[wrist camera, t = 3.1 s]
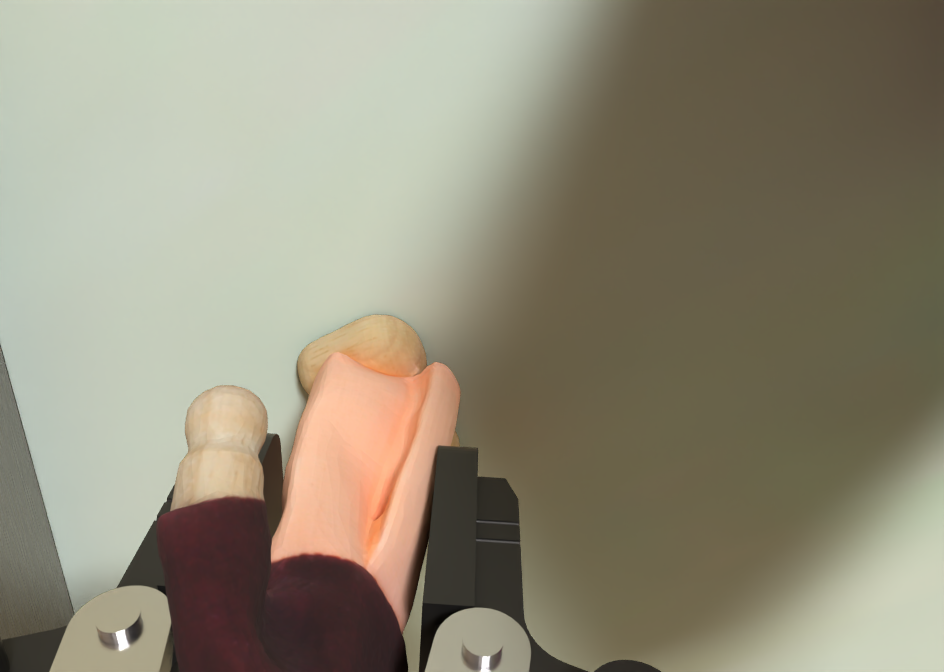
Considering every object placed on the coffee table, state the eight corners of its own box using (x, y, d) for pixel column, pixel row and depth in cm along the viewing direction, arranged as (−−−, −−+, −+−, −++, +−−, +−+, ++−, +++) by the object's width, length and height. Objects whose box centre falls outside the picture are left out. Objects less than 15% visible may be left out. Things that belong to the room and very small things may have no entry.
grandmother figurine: (527, 480, 17) (639, 1451, 6) (383, 533, 18) (258, 1484, 7) (365, 194, 14) (-1, 1211, 3) (197, 275, 15) (-597, 1322, 4)
